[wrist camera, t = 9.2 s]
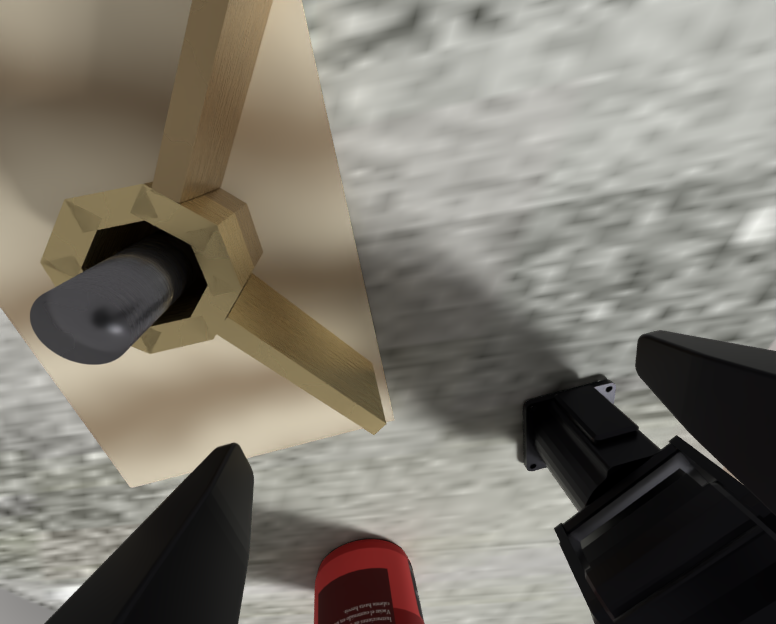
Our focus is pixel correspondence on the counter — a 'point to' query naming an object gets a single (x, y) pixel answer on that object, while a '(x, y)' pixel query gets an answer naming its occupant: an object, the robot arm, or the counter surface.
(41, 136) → the mounting board
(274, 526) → the counter surface
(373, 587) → the canned food
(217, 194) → the spoked octagonal hub
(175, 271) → the pin
